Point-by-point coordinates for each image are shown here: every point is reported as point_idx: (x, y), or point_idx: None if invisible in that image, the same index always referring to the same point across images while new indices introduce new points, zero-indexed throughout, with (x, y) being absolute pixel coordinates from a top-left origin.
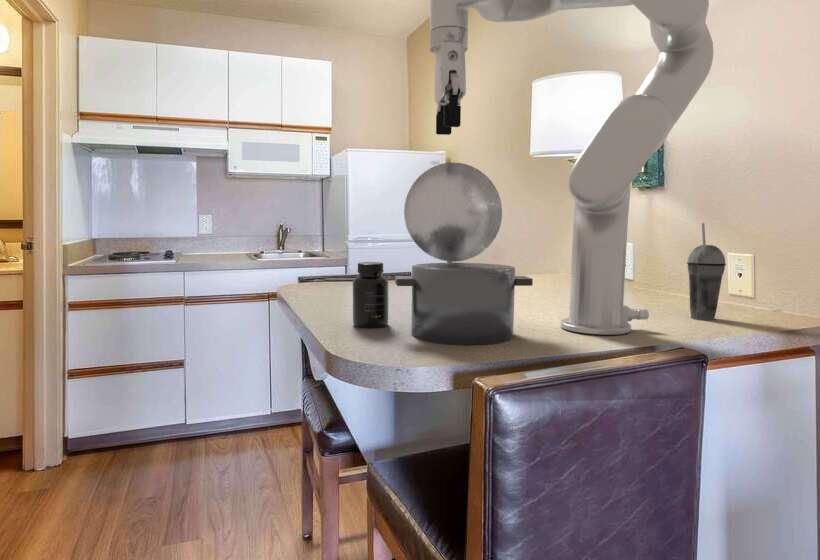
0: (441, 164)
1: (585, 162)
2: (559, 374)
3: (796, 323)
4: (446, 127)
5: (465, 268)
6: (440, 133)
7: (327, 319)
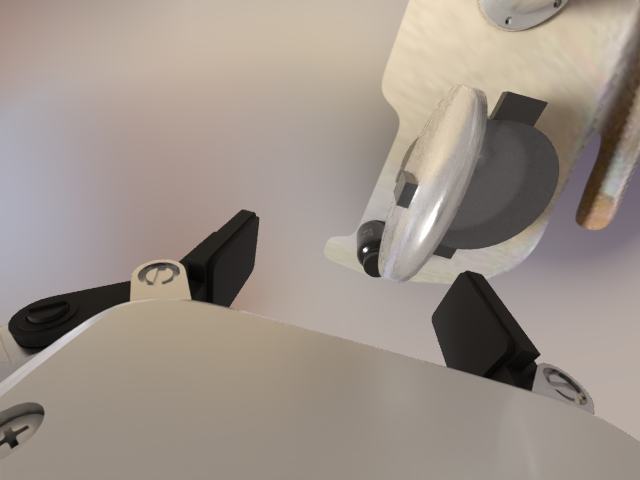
0: (428, 258)
1: None
2: (631, 168)
3: None
4: (247, 248)
5: (504, 202)
6: (253, 256)
7: (332, 257)
